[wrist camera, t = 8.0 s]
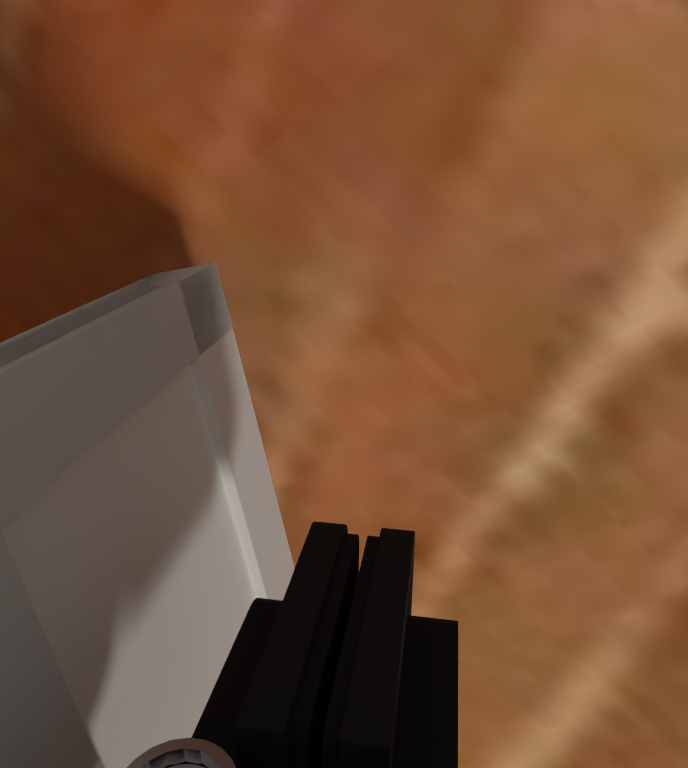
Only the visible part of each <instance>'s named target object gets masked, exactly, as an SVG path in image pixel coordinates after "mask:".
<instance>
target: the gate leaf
mask: <svg viewBox="0 0 688 768" xmlns="http://www.w3.org/2000/svg"><path fill="white" fill-rule="evenodd" d="M294 569H295V568H294V564H293V560H292V556H291V553H290V549H289V545H288V541H287V537H286V533H285V529H284V525H283V522H282V518H281V514H280V510H279V506H278V502H277V498H276V494H275V491H274V487H273V483H272V479H271V475H270V471H269V467H268V463H267V459H266V456H265V452H264V448H263V444H262V440H261V436H260V432H259V428H258V425H257V421H256V417H255V413H254V409H253V405H252V401H251V397H250V394H249V390H248V386H247V382H246V378H245V374H244V370H243V366H242V363H241V359H240V355H239V351H238V347H237V343H236V339H235V335H234V331H233V328H232V324H231V320H230V316H229V312H228V308H227V304H226V300H225V297H224V293H223V289H222V285H221V281H220V277H219V273H218V269H217V266H216V263H211V264H205V265H200V266H194V267H188V268H183V269H177V270H171V271H166V272H160V273H154V274H152V275H150V276H147V277H145V278H143V279H141V280H138V281H136V282H134V283H132V284H130V285H127V286H125V287H123V288H121V289H118V290H116V291H114V292H112V293H110V294H107V295H105V296H103V297H101V298H98V299H96V300H94V301H92V302H90V303H87V304H85V305H83V306H81V307H78V308H76V309H74V310H72V311H69V312H67V313H65V314H63V315H61V316H58V317H56V318H54V319H52V320H49V321H47V322H45V323H43V324H41V325H38V326H36V327H34V328H32V329H29V330H27V331H25V332H23V333H21V334H18V335H16V336H14V337H12V338H9V339H7V340H5V341H3V342H1V343H0V768H127V767H128V766H129V765H130V764H131V763H132V762H133V760H134V759H136V758H137V757H139V756H140V755H141V754H143V753H144V752H146V751H147V750H149V749H150V748H152V747H154V746H157V745H159V744H162V743H164V742H167V741H169V740H175V739H182V738H191V737H192V735H193V733H194V731H195V728H196V726H197V724H198V722H199V720H200V717H201V715H202V713H203V711H204V708H205V706H206V704H207V702H208V699H209V697H210V695H211V693H212V690H213V688H214V686H215V684H216V682H217V679H218V677H219V675H220V673H221V670H222V668H223V666H224V664H225V661H226V659H227V657H228V655H229V652H230V650H231V648H232V646H233V643H234V641H235V639H236V637H237V635H238V632H239V630H240V628H241V626H242V623H243V621H244V619H245V617H246V614H247V612H248V610H249V608H250V606H251V604H252V602H253V601H254V600H255V599H256V598H265V599H273V600H282V601H283V598H284V596H285V593H286V590H287V588H288V585H289V583H290V580H291V577H292V575H293V572H294Z"/></svg>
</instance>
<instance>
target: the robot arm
mask: <svg viewBox="0 0 688 768" xmlns="http://www.w3.org/2000/svg"><path fill="white" fill-rule="evenodd" d="M414 545H415V531H407V530H397V529H387V528H382V529H381V532H380V537H376V536H368V537H367V541H366V545H365V549H364V554H363V558H362V562H361V567H360V571H359V536H358V535H355V534H348V529H347V525H345V524H335V523H325V522H313V523H312V525H311V528H310V530H309V533H308V535H307V538H306V541H305V543H304V546H303V549H302V551H301V554H300V556H299V559H298V562H297V564H296V567H295V569H294V572H293V575H292V577H291V580H290V583H289V585H288V588H287V590H286V593H285V596H284V598H283V601H282V600H273V599H265V598H256V599H255V600H254V601H253V602H252V604H251V606H250V608H249V610H248V612H247V614H246V617H245V619H244V621H243V623H242V626H241V628H240V630H239V632H238V635H237V637H236V639H235V641H234V643H233V646H232V648H231V650H230V652H229V655H228V657H227V659H226V661H225V664H224V666H223V668H222V670H221V673H220V675H219V677H218V679H217V682H216V684H215V686H214V688H213V690H212V693H211V695H210V697H209V699H208V702H207V704H206V706H205V708H204V711H203V713H202V715H201V717H200V720H199V722H198V724H197V726H196V728H195V731H194V733H193V735H192V737H191V738H182V739H175V740H169V741H167V742H164V743H162V744H159V745H157V746H154V747H152V748H150V749H149V750H147V751H146V752H144V753H143V754H141V755H140V756H139V757H137V758H136V759H134V760H133V762H132V763H131V764H130V765H129V766H128V767H127V768H458V621H452V620H444V619H435V618H427V617H418V616H411V605H412V585H413V565H414Z"/></svg>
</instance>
